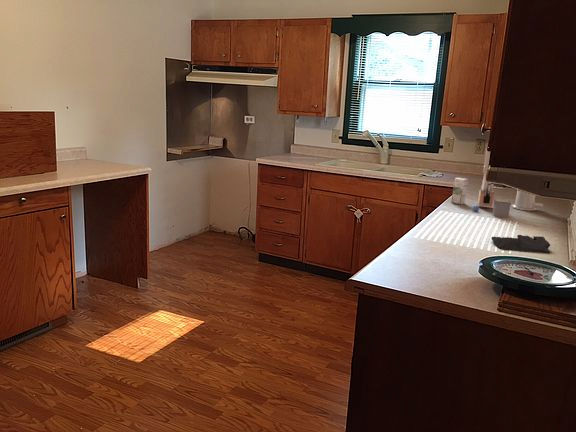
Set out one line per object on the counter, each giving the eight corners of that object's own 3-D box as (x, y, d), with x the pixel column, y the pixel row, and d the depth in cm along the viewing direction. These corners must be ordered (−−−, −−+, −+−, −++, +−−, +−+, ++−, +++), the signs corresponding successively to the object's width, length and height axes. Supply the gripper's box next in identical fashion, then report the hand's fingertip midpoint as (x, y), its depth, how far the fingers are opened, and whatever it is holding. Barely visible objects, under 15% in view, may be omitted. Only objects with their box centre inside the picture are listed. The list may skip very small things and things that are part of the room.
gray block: (506, 215, 264) (508, 200, 262) (508, 217, 258) (510, 202, 256) (492, 213, 266) (494, 198, 264) (493, 216, 260) (496, 201, 258)
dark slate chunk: (486, 240, 215) (488, 229, 214) (538, 243, 214) (540, 233, 213) (499, 251, 200) (501, 240, 199) (555, 255, 199) (557, 243, 198)
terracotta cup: (490, 204, 282) (492, 190, 281) (492, 207, 276) (494, 192, 274) (477, 203, 284) (479, 189, 282) (478, 205, 278) (480, 191, 276)
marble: (478, 211, 270) (479, 205, 269) (478, 212, 267) (479, 206, 266) (471, 210, 271) (472, 204, 270) (472, 211, 268) (473, 205, 267)
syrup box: (464, 203, 288) (468, 178, 284) (460, 204, 284) (464, 179, 280) (455, 201, 291) (459, 177, 288) (450, 202, 287) (454, 177, 284)
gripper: (481, 167, 284) (476, 198, 289) (484, 171, 268) (479, 204, 272) (495, 168, 283) (490, 199, 287) (499, 173, 266) (494, 205, 270)
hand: (485, 201), depth 280 cm, fingers open, 7 cm apart
